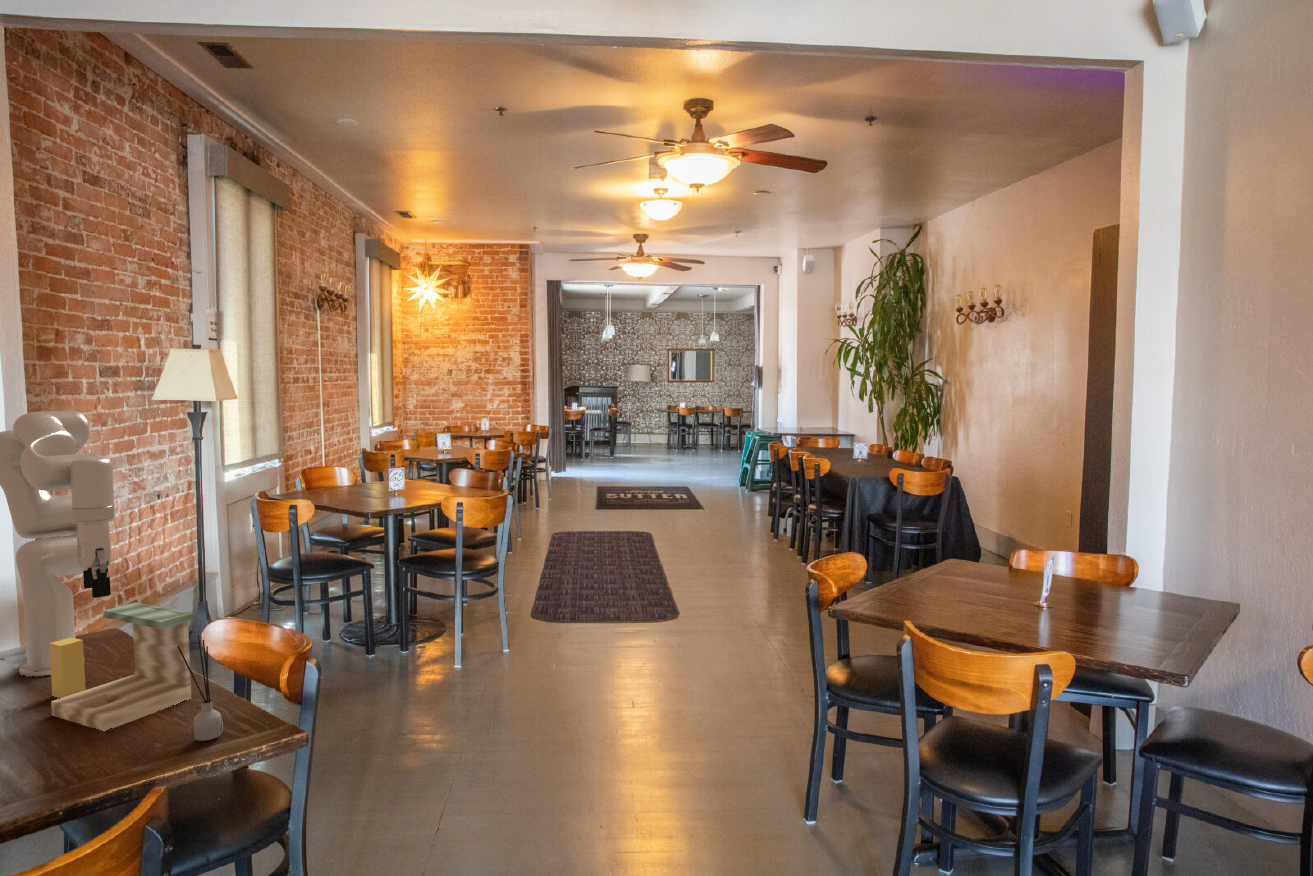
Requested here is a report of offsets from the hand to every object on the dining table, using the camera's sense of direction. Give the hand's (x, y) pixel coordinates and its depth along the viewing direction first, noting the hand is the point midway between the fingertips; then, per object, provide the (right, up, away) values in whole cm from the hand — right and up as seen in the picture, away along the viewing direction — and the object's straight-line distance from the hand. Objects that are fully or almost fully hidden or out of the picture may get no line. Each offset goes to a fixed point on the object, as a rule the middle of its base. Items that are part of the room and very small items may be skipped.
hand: (97, 591), depth 173 cm
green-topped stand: (+9, -24, -4) cm, 26 cm away
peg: (-8, -23, +2) cm, 25 cm away
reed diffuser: (+35, -25, -20) cm, 47 cm away
